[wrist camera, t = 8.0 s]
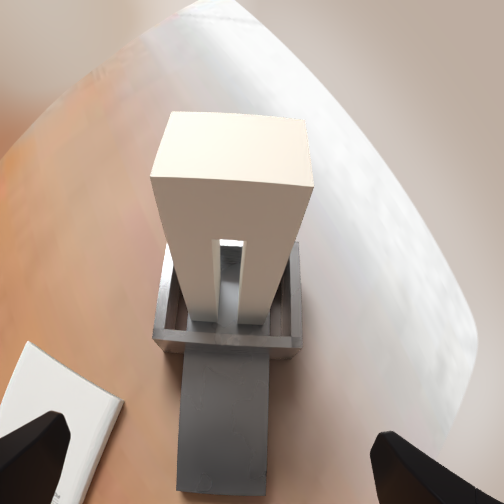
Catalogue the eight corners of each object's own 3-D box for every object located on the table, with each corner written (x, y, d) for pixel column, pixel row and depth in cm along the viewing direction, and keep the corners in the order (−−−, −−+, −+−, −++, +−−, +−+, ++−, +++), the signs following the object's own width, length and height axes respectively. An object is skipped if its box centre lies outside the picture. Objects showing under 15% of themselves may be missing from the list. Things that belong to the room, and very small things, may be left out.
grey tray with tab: (288, 490, 15) (300, 503, 12) (154, 482, 15) (141, 494, 12) (288, 258, 23) (298, 232, 20) (177, 250, 23) (170, 223, 20)
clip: (263, 324, 19) (313, 187, 8) (191, 320, 19) (149, 176, 8) (264, 280, 21) (304, 120, 10) (196, 275, 20) (171, 111, 10)
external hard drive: (127, 401, 18) (72, 539, 12) (37, 345, 19) (-12, 474, 12) (120, 399, 16) (62, 545, 10) (25, 339, 17) (-24, 474, 11)
